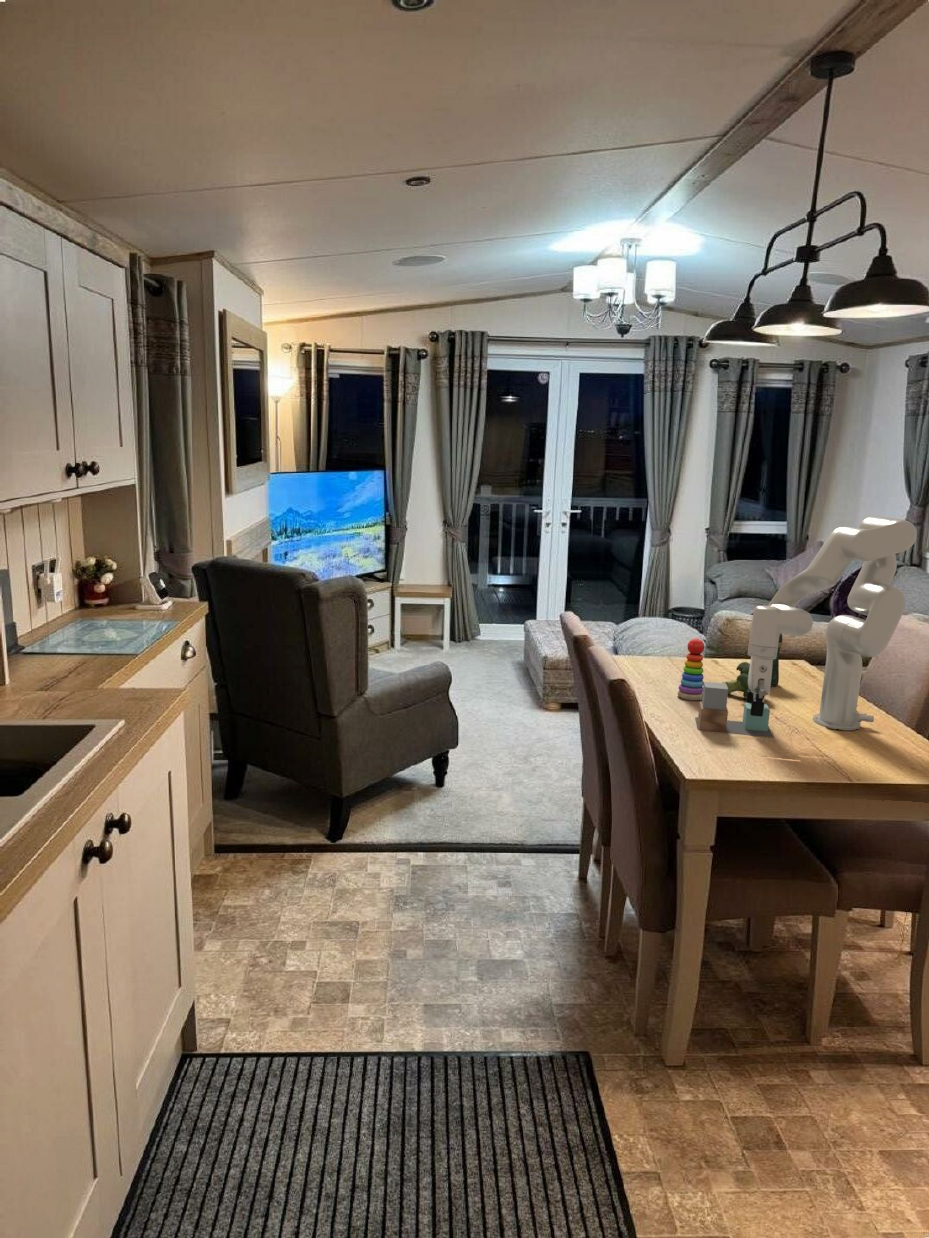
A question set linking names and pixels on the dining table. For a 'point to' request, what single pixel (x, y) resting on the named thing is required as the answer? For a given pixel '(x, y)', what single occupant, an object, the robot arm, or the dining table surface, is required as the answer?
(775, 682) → the coffee jar
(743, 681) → the vegetable
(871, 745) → the dining table surface
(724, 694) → the tower mid
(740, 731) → the mat
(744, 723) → the teal cube
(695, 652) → the stacking toy
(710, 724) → the tower base
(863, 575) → the robot arm
